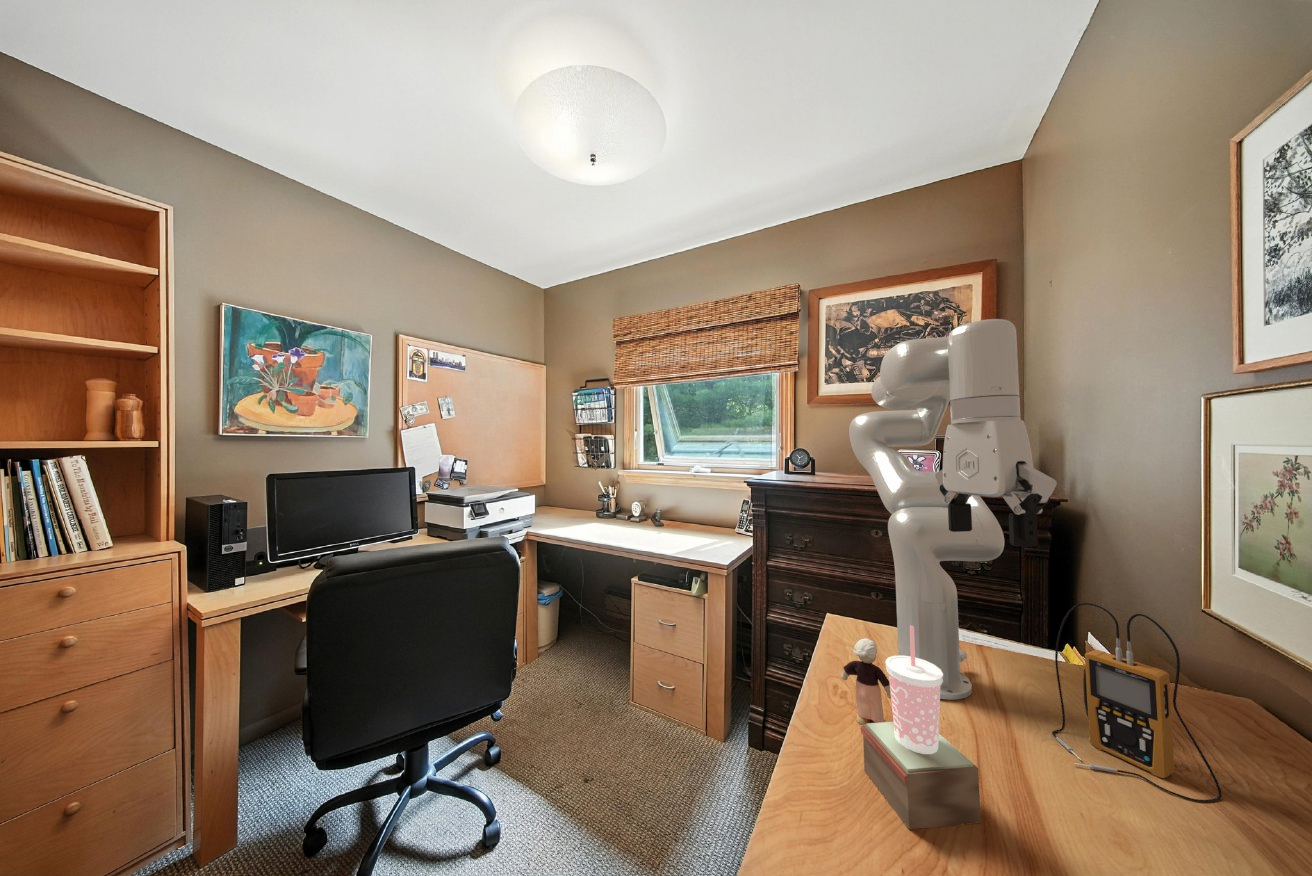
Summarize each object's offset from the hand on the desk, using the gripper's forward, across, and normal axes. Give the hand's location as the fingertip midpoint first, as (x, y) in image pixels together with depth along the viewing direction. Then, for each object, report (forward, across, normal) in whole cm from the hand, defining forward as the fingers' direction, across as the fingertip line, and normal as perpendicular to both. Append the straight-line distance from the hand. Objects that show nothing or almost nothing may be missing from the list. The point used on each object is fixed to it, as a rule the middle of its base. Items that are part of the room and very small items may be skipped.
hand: (989, 537), depth 56 cm
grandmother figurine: (+31, -11, -12) cm, 34 cm away
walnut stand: (+30, +3, -14) cm, 33 cm away
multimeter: (+31, +2, +15) cm, 34 cm away
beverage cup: (+24, +3, -14) cm, 28 cm away
